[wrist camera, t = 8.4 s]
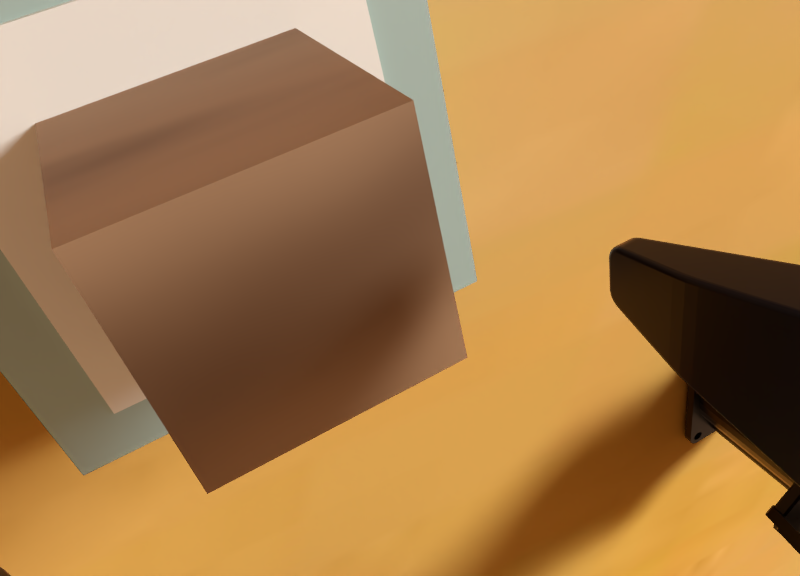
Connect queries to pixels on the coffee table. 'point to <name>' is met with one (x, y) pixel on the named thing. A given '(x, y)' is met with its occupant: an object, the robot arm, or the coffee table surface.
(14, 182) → the base slab
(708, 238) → the coffee table surface
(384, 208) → the walnut cube
